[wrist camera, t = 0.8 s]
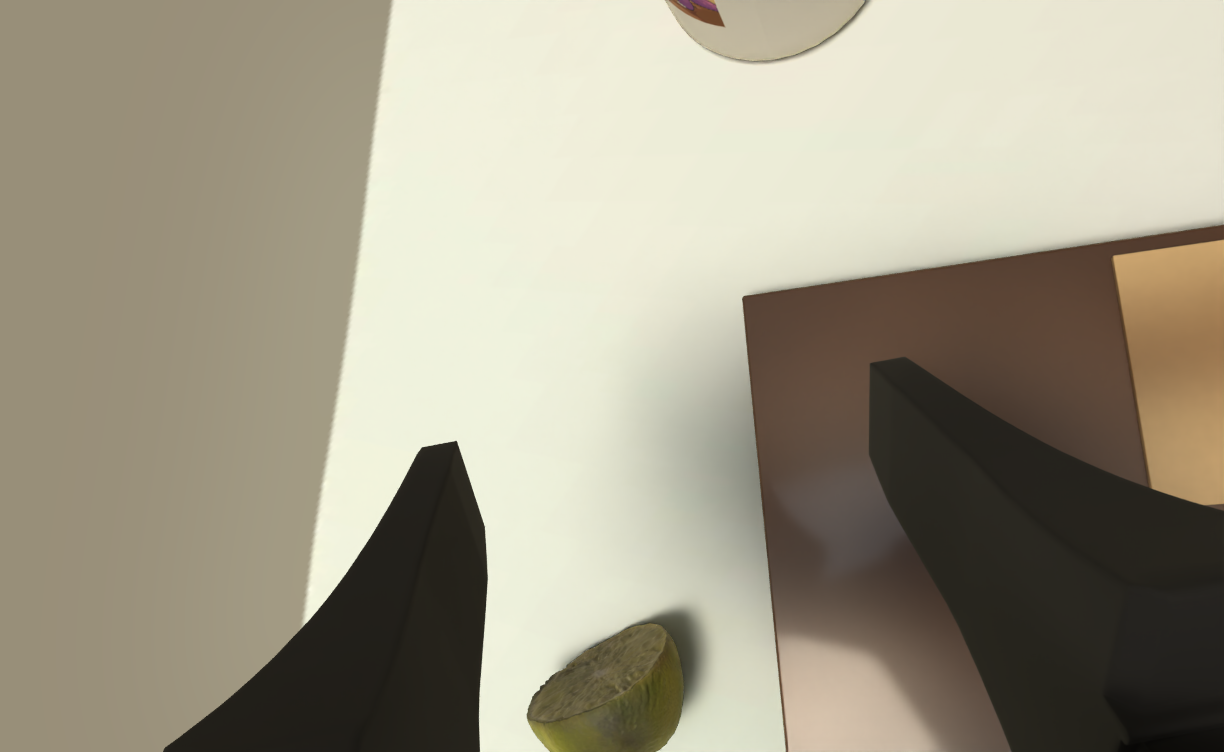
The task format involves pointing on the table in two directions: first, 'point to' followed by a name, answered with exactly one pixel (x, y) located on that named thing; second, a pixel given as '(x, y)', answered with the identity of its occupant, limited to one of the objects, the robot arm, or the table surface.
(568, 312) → the table surface
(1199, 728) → the robot arm
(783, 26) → the milk bottle
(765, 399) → the cutting board
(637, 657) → the lime
